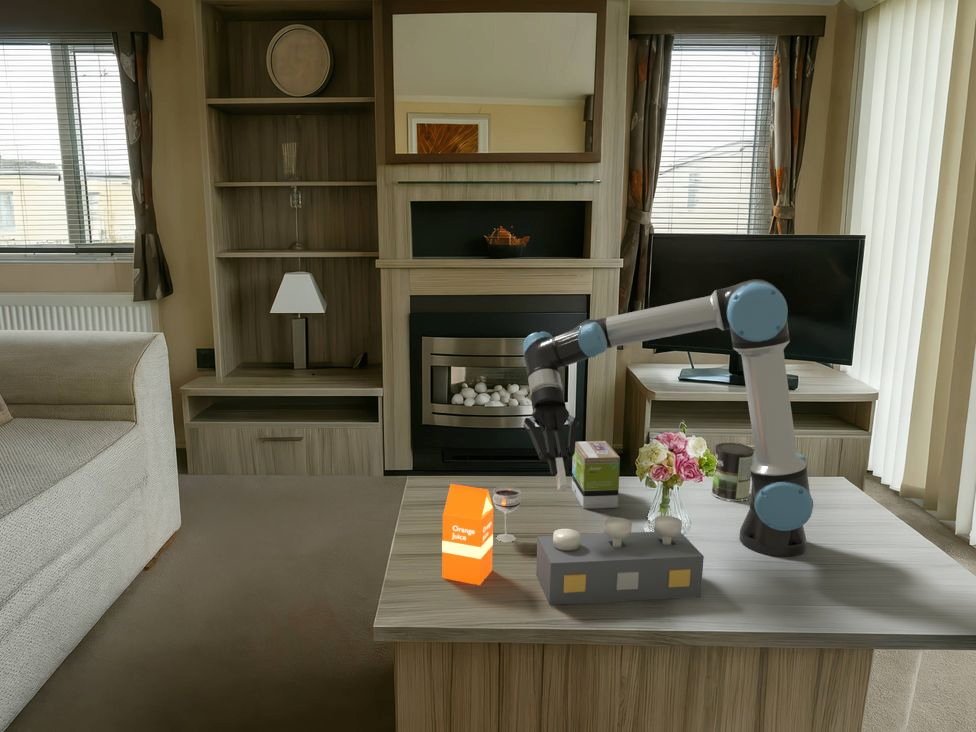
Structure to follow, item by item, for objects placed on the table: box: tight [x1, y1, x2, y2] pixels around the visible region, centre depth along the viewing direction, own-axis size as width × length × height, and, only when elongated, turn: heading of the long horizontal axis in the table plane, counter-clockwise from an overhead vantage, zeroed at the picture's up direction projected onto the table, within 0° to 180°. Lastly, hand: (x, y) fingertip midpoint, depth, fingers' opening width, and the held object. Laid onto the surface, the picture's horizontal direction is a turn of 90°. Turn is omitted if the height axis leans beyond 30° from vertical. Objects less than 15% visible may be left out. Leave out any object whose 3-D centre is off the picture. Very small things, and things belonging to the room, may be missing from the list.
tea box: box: [571, 440, 621, 510], centre depth 209 cm, size 15×10×15 cm
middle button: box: [603, 516, 633, 547], centre depth 160 cm, size 6×6×7 cm
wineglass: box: [492, 485, 522, 543], centre depth 182 cm, size 7×7×12 cm
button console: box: [535, 531, 705, 606], centre depth 160 cm, size 32×13×9 cm, turn 98°
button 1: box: [552, 528, 581, 551], centre depth 159 cm, size 6×6×7 cm
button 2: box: [653, 515, 683, 545], centre depth 161 cm, size 6×6×7 cm
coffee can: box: [711, 442, 755, 502], centre depth 214 cm, size 10×10×14 cm
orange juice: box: [441, 483, 494, 586], centre depth 163 cm, size 8×9×20 cm
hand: (562, 487), depth 161 cm, fingers closed
